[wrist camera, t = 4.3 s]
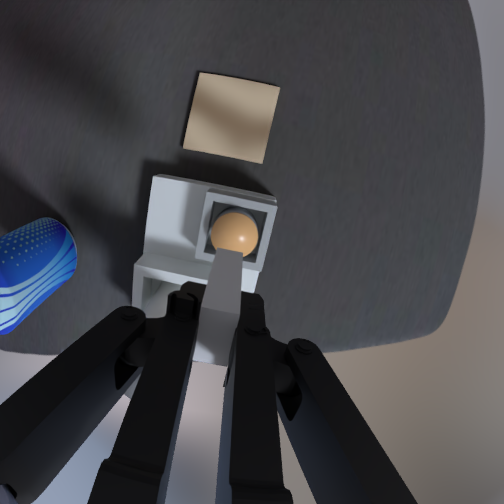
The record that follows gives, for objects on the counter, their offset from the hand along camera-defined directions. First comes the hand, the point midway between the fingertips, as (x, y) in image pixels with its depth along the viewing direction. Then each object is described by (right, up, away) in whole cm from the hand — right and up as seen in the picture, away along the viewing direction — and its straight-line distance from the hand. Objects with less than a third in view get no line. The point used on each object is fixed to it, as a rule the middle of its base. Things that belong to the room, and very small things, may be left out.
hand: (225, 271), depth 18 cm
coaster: (-1, +14, +11) cm, 18 cm away
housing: (-4, 0, +16) cm, 16 cm away
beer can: (-23, +2, +15) cm, 28 cm away
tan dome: (0, +3, +11) cm, 12 cm away
